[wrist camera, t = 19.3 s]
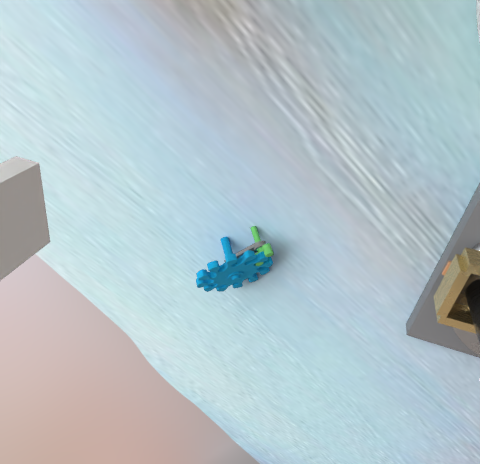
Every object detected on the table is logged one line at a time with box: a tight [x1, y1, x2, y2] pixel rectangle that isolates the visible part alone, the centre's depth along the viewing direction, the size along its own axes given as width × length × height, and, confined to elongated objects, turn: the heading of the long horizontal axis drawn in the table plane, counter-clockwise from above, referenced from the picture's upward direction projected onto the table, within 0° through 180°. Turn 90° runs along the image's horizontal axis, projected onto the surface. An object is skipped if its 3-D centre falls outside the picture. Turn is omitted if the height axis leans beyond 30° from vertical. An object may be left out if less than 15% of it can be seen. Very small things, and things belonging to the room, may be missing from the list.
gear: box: [196, 226, 273, 291], centre depth 53 cm, size 11×6×10 cm
